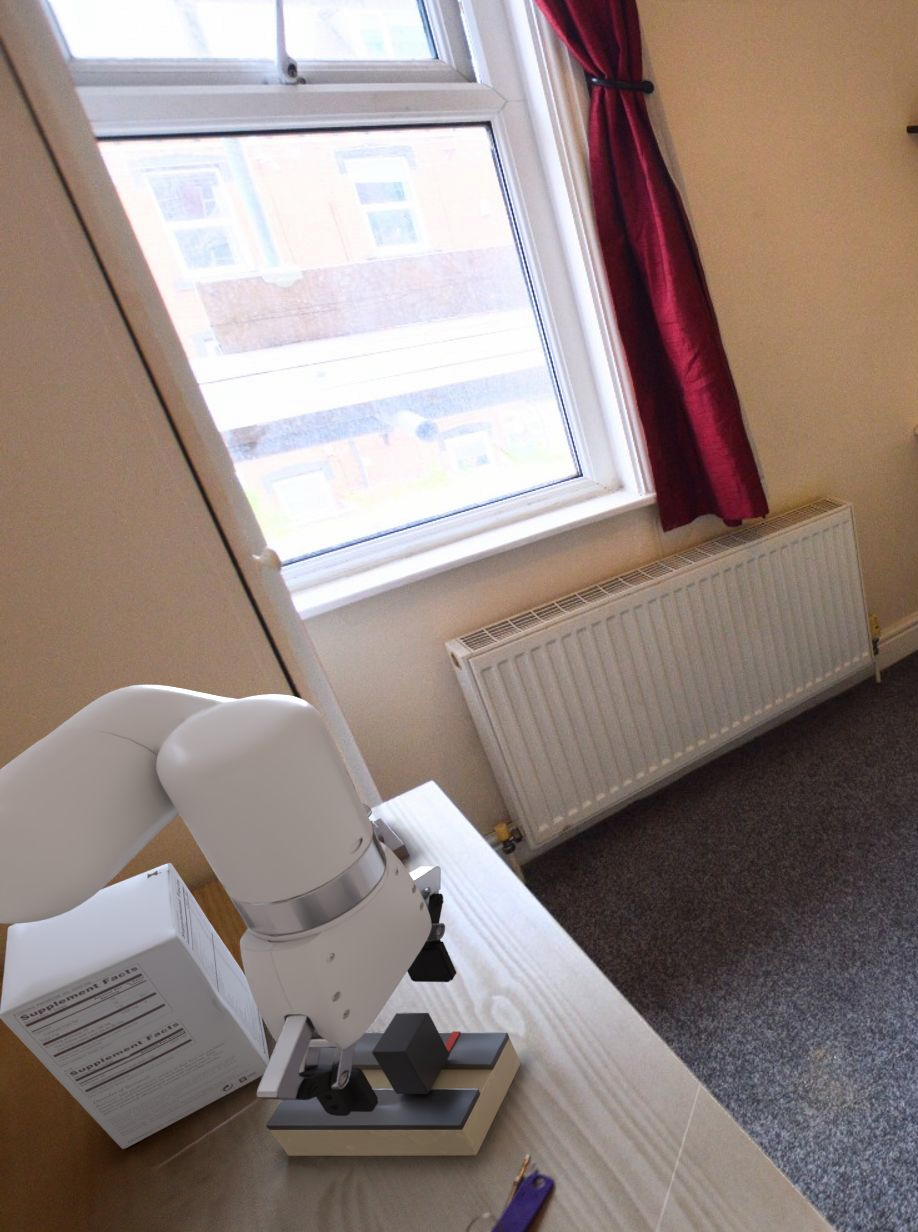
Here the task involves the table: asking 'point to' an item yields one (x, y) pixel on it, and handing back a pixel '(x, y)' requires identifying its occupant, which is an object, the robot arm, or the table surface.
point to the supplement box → (134, 1005)
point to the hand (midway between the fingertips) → (397, 1038)
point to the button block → (390, 839)
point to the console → (408, 1105)
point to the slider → (411, 1053)
